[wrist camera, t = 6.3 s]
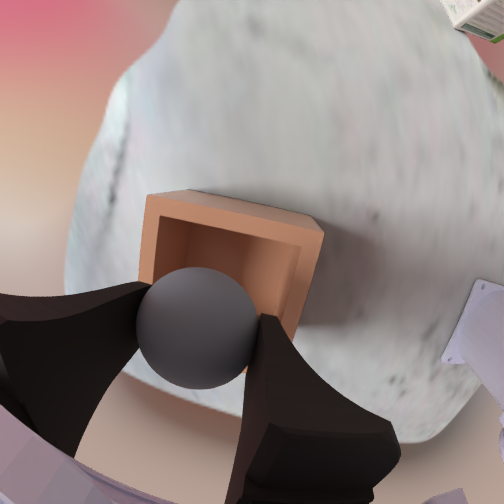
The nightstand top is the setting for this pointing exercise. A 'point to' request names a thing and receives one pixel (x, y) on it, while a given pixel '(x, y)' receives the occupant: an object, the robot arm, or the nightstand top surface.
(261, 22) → the nightstand top surface
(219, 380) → the ball
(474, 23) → the syrup box
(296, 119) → the nightstand top surface
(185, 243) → the open square bin
